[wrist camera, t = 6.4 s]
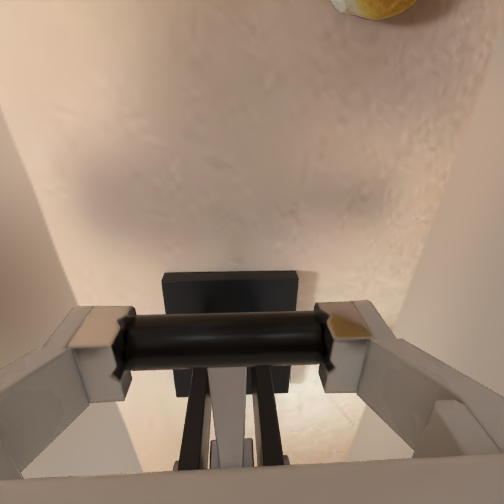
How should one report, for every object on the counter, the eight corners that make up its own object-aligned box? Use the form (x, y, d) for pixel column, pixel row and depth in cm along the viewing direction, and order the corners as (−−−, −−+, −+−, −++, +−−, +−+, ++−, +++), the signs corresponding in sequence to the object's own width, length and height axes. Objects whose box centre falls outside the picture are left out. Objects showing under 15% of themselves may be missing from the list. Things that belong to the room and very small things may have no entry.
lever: (138, 291, 9) (114, 370, 7) (311, 287, 9) (332, 362, 7) (189, 459, 18) (184, 512, 16) (274, 454, 18) (280, 506, 16)
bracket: (164, 272, 23) (97, 438, 12) (295, 270, 24) (356, 426, 12) (178, 386, 28) (141, 579, 17) (286, 382, 29) (322, 566, 17)
